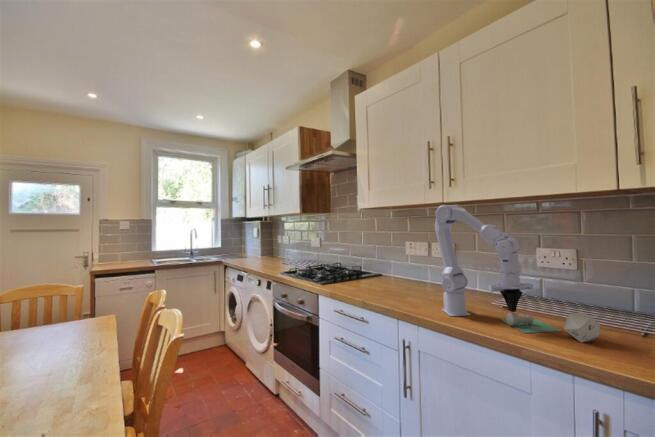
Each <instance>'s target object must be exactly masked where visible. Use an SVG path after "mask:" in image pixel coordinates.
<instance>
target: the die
mask: <svg viewBox="0 0 655 437" xmlns="http://www.w3.org/2000/svg"><path fill="white" fill-rule="evenodd" d="M563 330H564V331H565V332H566V333H568V334H569V335H571V337H573V338H574V339H576V340H577V341H578V342H580V343H586V342H590V341H595V340H596V339H598V337H599V336H600V331H601V324H600V323H599V322H598V321H597V320H596V319H595V318H593V317H592V316H590V315H588V314H586V313H585V312H583V311H580V312H576V313H575V312H573V313H569V314H568V315H567V317H566V318H565V320H564V326H563Z"/></svg>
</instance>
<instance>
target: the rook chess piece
mask: <svg viewBox="0 0 655 437" xmlns="http://www.w3.org/2000/svg"><path fill="white" fill-rule="evenodd" d="M532 318H534V316H532V315H530V314H526V315H524V314H523V315H520V314H516V313H514V312H507V313H506V315H505V319H506V321H507V323H508V324H507V323H506V324H507V325H509V326H511V327H512V326H516V325H517V324H519V323H525V324H526V323H528V324H531V323H534V321H533V320H534V319H532Z"/></svg>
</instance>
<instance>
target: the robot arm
mask: <svg viewBox="0 0 655 437" xmlns="http://www.w3.org/2000/svg"><path fill="white" fill-rule="evenodd" d="M434 215H435V222H434V230H435V234H436V235H435V236H436V239H437V244H438V248H439V251H440V252H439V253H440V255H441V260H442V263H443V264H442V265H443V268H444V269H443V271H442V272H441V287H442V289H443V290H444V292H443V294H442V296H443V298H442V299H443V308H441V310H442V311H443V312H444V313H446V314H447V315H448V316H450V317H465V316H466V317H467V316H471V313H469V312H468V311H467V305H466V288H467V286H468V284H469V283H468V282H469V280H468V278H467V276H466V275H465V273H464V270H463V269H462V268H461V267H460V266H459V263H458V260H457V259H458V258H457V257H456V256H457V254H456V251H455V247H454V242H453V239H452V235H451V230H450V228H451V227H452V226H453V225H454V224H455V223H456V222H457V221H459V222H460V221H461V222H462V223H465V224H466V225H467V226H469V227H471V228H472V229H474V230H475V231H477V232H478V233H479V234H478V235H479V237H480V238H482V239H483V240H484V241H485V242H487V243H489V244H490V245H491V246H493V247H494V248H495V250H496V252H497V253H498V255H499V269H500V271H499V273H500V274H499V275H500V283H496V284H491V285H490V284H489V285H487V286H488V291H489V292H492V293H494V292H499V293H500V294H501V296H502V297H503V300H504V301H505V303H506V306H507V310H508V311H509V312H510V313H514V312H515V313H516V312H517V308H518V303H519V300H520V299H521V297H522V295H523V291H522V290H525V291H526V290H531V291H532V290H534V284H533V283H530V282H525V283H524V282H521V280H520V278H521V277H520V267H519V266H520V263H519V261H520V260H519V251H520V249H521V243H520V241H519V239H517V238H516V237H514V236H509V234H508V233H504V232H503V231H502V230H500V229H498V226H497V225H495V224H490V223H489V224H485V223H483V222H482V221H481V220H480V219H478V218H477V217H475V216H474V215H473V214H471V213H470V212H469V211H467V209H466V208H464V207H461V206H460V205H458V204H442V205H439V207H437V209H436V210H435V212H434Z"/></svg>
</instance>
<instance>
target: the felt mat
mask: <svg viewBox="0 0 655 437" xmlns="http://www.w3.org/2000/svg"><path fill="white" fill-rule="evenodd" d="M532 319H534V320H533V321H534V323H531V324H528V323H526V324H525V323H519V324H517V325H516V326H511V327H513V328H514V329H516V330H517V331H520V332H522V333H524V334H536V333H541V334H542V333H555V332H560V333H561V332H562V330H561V329H559V328H557V327H554V326H552V325H549V324H548V323H545V322H543V321H541V320H539V319H536V318H534V317H533V318H532ZM500 321H502V322H503V323H505V324H507V325H509V324H508V323H507V321H506V318H500Z"/></svg>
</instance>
